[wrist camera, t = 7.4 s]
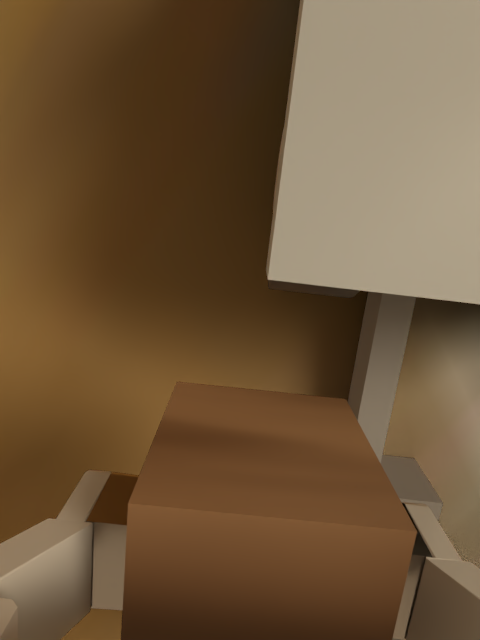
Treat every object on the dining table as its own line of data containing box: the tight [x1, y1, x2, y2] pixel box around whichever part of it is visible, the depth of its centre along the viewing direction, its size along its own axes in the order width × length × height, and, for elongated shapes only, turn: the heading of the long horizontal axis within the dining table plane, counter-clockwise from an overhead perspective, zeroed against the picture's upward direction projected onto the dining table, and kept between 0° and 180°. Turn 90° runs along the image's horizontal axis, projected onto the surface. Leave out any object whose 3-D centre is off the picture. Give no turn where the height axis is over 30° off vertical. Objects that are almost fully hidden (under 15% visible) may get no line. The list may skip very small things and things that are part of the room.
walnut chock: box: [121, 382, 417, 640], centre depth 9 cm, size 4×4×4 cm
